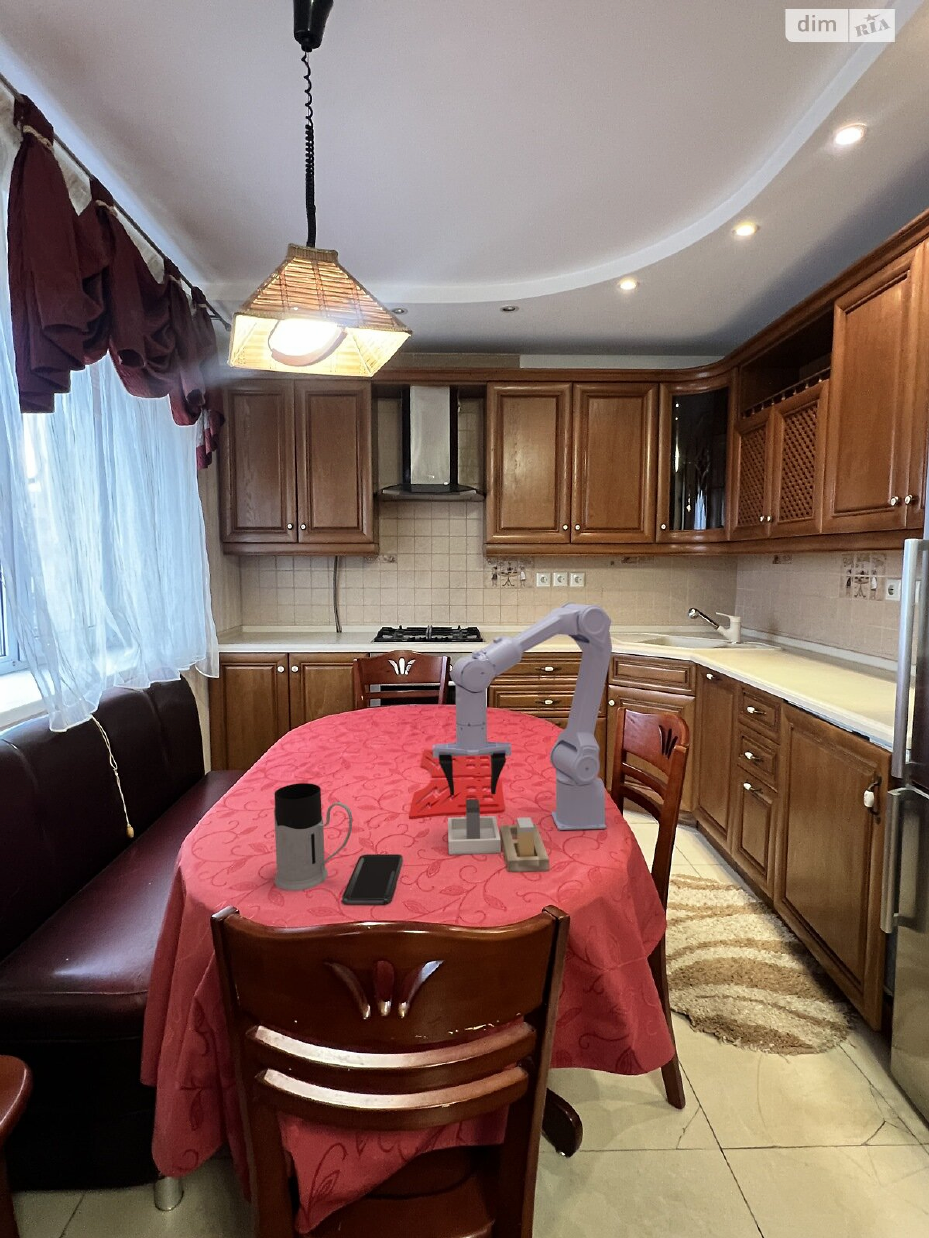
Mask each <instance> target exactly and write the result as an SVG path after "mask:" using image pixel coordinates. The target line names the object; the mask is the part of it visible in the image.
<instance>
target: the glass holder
mask: <svg viewBox="0 0 929 1238" xmlns="http://www.w3.org/2000/svg"><path fill="white" fill-rule="evenodd" d="M321 790H322V789H321V787H320V786H319V785H318V784H314V783H308V782H307V783H306V782H303V783H301V782H298V783H292V784H289V785H284V786H282V787H280V788H278V789H276V790H275V791H274V810H273V813H274V815H273V816H274V833H275V834H274V835H275V836H274V837H275V839H274V840H275V854H276V855H275V858H276V875H275V877H274V884H276V887H278V889H281V890H285V891H297V892H298V891H304V890H308V888H309V889H312V888H314V887H313V886H315V887H316V885H317V886H319V885H320V884H322V883H323V882H324V881H325V880H326V879H327V878H328V876H329V873H328V870H327V868H326V863H327V862H328V861H330V860H331V859H332V858H334V857H335V856H336V855H337V854H338V853H340V851H341V850H342V849H344V848H345V846H346V845H347V843H348V841H349V839H350V837H351V834H352V829H353V813H352V811H351V808H350V807H349V806H348V805H347V804H345V803H343V802H339V801H338V802H334V803H332V804H331V805H329V807H328V808H327V812H326V815H325V816H326V821H325V822H326V823H324V817H323V815H322V814H323V813H322V791H321ZM334 806H339V807H342V808H344V810H345V811H346V812H347V816H348V830H347V835H346V837H345V839H344V841H343V843H342V844H341V846H340V847H339V848H338V849H337V850H335V852H334V853H332V854H331V855H329V856H328V857H327V858H326V859H325V838H324V837H325V836H324V828H325V827H328V825H329V824H330V821H331V810H332V809H333V808H334ZM318 884H319V885H318ZM311 887H312V888H311Z"/></svg>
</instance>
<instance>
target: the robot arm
mask: <svg viewBox="0 0 929 1238" xmlns="http://www.w3.org/2000/svg"><path fill="white" fill-rule="evenodd" d="M611 624H612V619H611V618H610V616H609V615H608V613H607V612H606V611H605V609H604V608H603V607H601V606H599V605H597V604H581V603H576V602H566V603H563V604H562V605H561V606H559V607H556V608H554V609H552V610H551V612H549V614H547V615H545V616H544V617H542V618H541V619H540V620H538V621H537V622H535V623H534V624H532V625H530V626H529V627H528V628H526V629H524V630H523V631H521V632H520V633H519V634H517V635H515V636H514V637H513V638H512V637H510V636H507V635H503V636H495V637H493V639H492V643H490V644H489V645H487V646H484V648H481V649H479V650H477V649H475V650H473V651H472V652H471V654H472V655H471V657H470V656H462V657H461V658H459V659H458V660H456V661H455V663H454V665H453V666H452V670H451V671H450V672H449V675H450V679H451V680H452V682H453V684H454V685H455V728H456V730H455V731H456V732H455V733H456V736H455V738H456V740H455V741H456V742H449V743H442V744H441V743H440V744H433V745H432V750H433V758H439V763H440V764H439V766H440V767H441V768H442V770H443V772H444V774H445V776H446V778H445V779H447V781H448V785H449V788H448V789H450V795H451V796H454V783H453V779H454V778H453V763H452V756H477V755H491V777H490V779H491V789H490V792H491V794H495V792H496V786H497V782H498V779H500V776H501V772H503V769H504V766H505V765H506V762H507V758H506V756H507V757H509V756H512V744H511V742H497V741H496V742H495V741H488V721H487V720H488V719H487V717H488V715H487V706H488V705H487V689H488V688H489V686H490V685H491V682H492V680H493V679H495V678H496V677H498V676H499V675H501V674H503V673H504V672H507V671H508V670H509V669H511V668H512V667H514V666H515V665H517V664H519V663H520V662H521V660H522V657H523V654H524V653H525V652H527V651H529V650H530V649H532V648H534V647H537V646H539V645H540V644H542V643H544V642H545V641H547V640H550V639H551V638H552V637H555V636H557V635H562V636H563V635H566V636H568V637H570V638H571V639H572V640H573V641H574V642H575V644H576V645H577V646H578V648H580V650H581V652H582V655H581V659H580V665H579V668H578V674H577V679H576V682H575V687H574V692H573V698H572V701H571V706H570V711H569V713H568V714H569V716H568V719H567V723H566V728H564V729H563V730H562V731H561V732H560V733H558V735H557V739H556V742H555V744H554V745H553V746H552V748H551V750H550V753H549V762H550V764H551V766H552V767H553V768H554V769H555V777H556V778H555V811H551V813H550V814H551V817H552V818H553V822H554V823H555V826H556V827H557V830H558V831H565V830H566V831H569V830H571V831H572V830H574V831H575V830H596V829H597V830H598V829H599V830H600V829H601V830H602V829H606V828H607V825H606V793H605V792H606V791H605V784H604V782H603V780H602V778H600V777H597V776H598V775H599V773H600V765H601V764H600V760H599V755H600V749H601V748H600V746H599V744H598V742H597V740H596V737H595V731H596V724H597V722H598V716H599V711H600V708H601V703H602V697H603V695H604V694H603V693H604V688H605V684H606V679H607V674H608V670H609V665H610V662H611V656H612V653H613V652H612V651H613V643H612V638H611V633H610V628H611Z"/></svg>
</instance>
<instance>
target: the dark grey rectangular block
mask: <svg viewBox="0 0 929 1238" xmlns="http://www.w3.org/2000/svg"><path fill="white" fill-rule="evenodd" d="M480 815H481V814H480V807H479V800H478V799H475V798H468V799H466V815H465V817H466V836H467V839H480V817H481V816H480Z"/></svg>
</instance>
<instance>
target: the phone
mask: <svg viewBox="0 0 929 1238" xmlns="http://www.w3.org/2000/svg"><path fill="white" fill-rule="evenodd" d="M403 861H404V859H403V855H402V854H399V853H398V854H395V853H394V854H392V853H391V854H388V853H387V854H386V853H385V854H381V853H380V854H373V853H372V854H371V853H370V854H368V853H367V854H362V855H360V856H359V857H358V859H357V862H356V864H355V866H354V869H353V871H352V873H351V876H350V877H349V879H348V880H349V881H348V882H347V884H346V887H345V889H344V892H343V893H342V897H341V902H342V904H343V905H345V906H387V905H389V904H391V903H392V901H393V898H394V894H395V891H396V889H397V883H398V879H399V876H400V874H401V870H402V869H401V868H402V866H403Z"/></svg>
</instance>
